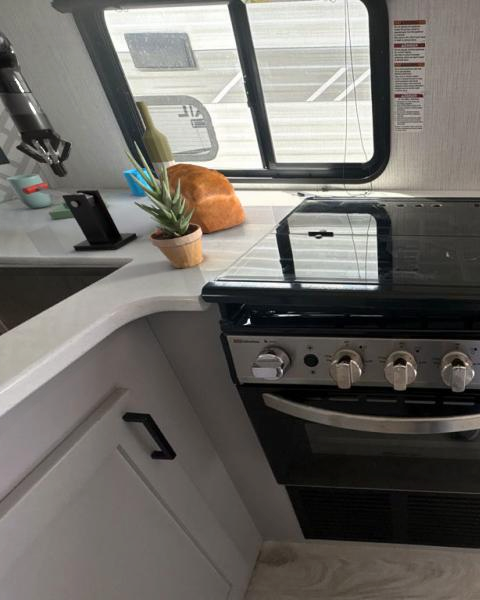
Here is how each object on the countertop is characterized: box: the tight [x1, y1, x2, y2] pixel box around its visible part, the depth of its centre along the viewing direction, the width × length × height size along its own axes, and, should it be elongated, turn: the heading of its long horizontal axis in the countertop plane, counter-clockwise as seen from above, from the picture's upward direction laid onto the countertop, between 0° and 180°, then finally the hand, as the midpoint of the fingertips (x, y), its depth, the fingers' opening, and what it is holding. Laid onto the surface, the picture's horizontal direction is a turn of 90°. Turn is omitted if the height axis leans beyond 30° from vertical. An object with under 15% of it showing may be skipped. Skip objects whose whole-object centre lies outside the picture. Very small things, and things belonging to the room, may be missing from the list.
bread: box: [158, 162, 246, 234], centre depth 93 cm, size 14×26×16 cm, turn 49°
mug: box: [122, 167, 152, 197], centre depth 123 cm, size 12×8×8 cm
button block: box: [48, 198, 109, 221], centre depth 106 cm, size 12×10×4 cm
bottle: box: [135, 101, 177, 182], centre depth 112 cm, size 7×7×30 cm
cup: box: [6, 173, 52, 209], centre depth 111 cm, size 8×8×10 cm
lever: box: [22, 182, 95, 207], centre depth 77 cm, size 12×5×2 cm, turn 92°
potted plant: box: [124, 140, 204, 269], centre depth 67 cm, size 10×10×25 cm
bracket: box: [62, 189, 138, 252], centre depth 80 cm, size 10×8×13 cm
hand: (63, 176), depth 102 cm, fingers closed
